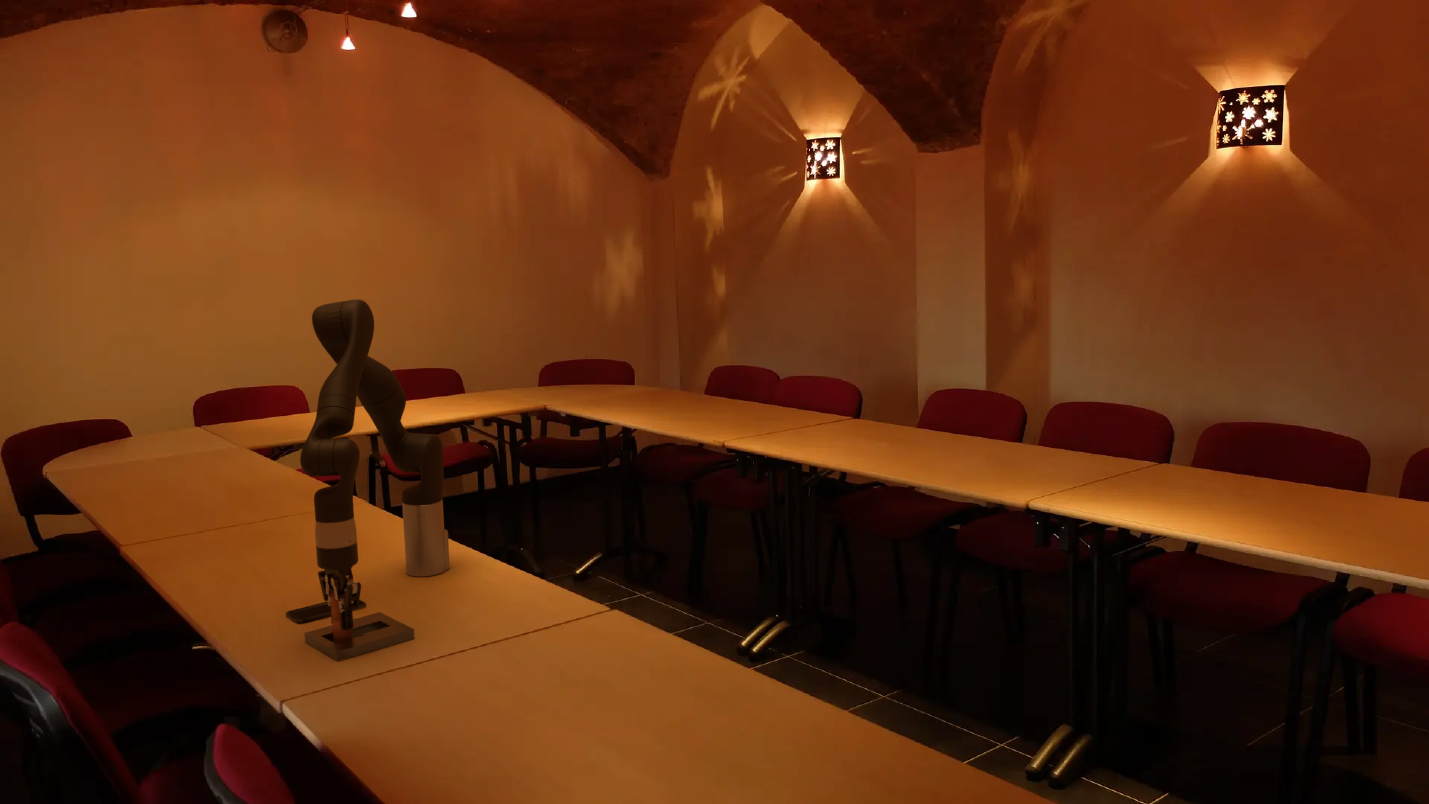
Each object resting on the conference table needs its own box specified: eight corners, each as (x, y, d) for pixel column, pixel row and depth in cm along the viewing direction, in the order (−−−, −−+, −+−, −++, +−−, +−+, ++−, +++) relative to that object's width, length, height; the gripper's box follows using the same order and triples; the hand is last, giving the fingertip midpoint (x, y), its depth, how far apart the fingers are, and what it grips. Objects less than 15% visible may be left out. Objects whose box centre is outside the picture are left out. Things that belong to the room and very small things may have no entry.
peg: (347, 636, 211) (344, 588, 210) (356, 641, 209) (352, 592, 207) (330, 641, 209) (327, 592, 207) (339, 646, 206) (335, 596, 205)
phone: (283, 612, 226) (352, 595, 236) (284, 617, 226) (352, 600, 236) (298, 621, 220) (367, 603, 230) (299, 627, 220) (368, 608, 230)
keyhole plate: (380, 621, 222) (379, 612, 222) (414, 638, 212) (413, 628, 212) (305, 642, 211) (304, 632, 210) (337, 661, 201) (336, 651, 201)
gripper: (372, 544, 203) (377, 630, 206) (338, 530, 213) (344, 612, 216) (334, 552, 198) (340, 641, 201) (301, 538, 208) (307, 622, 211)
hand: (342, 626), depth 208 cm, fingers closed on peg, 3 cm apart
